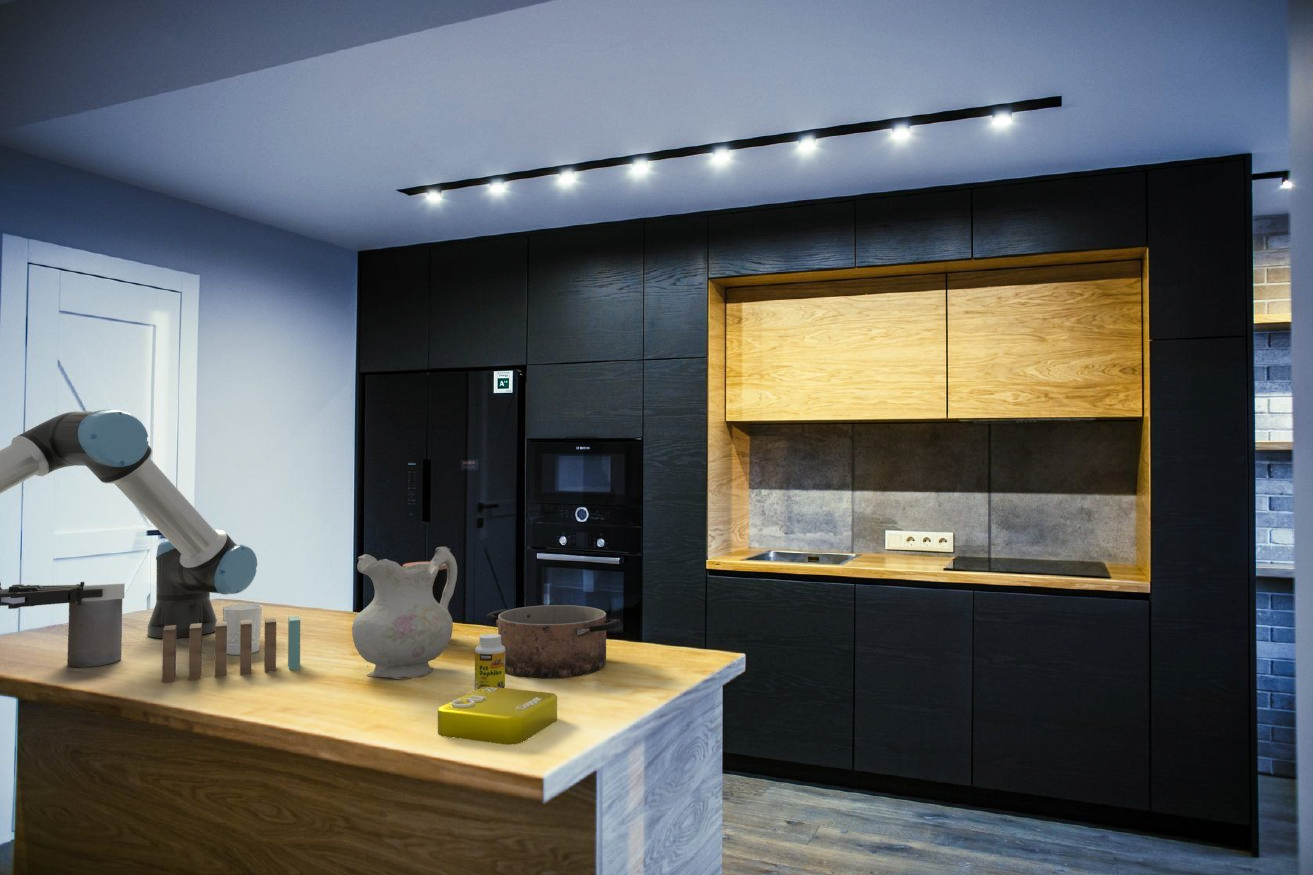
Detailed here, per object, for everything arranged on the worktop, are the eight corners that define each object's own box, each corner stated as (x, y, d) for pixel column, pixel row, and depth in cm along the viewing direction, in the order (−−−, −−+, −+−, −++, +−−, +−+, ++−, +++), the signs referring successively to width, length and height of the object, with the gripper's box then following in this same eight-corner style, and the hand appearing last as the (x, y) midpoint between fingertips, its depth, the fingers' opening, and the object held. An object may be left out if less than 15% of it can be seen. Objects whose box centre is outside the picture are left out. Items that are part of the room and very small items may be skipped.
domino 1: (164, 676, 171) (164, 625, 171) (175, 675, 172) (176, 624, 172) (162, 682, 166) (162, 630, 166) (174, 681, 167) (174, 629, 167)
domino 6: (287, 664, 181) (288, 616, 181) (298, 663, 181) (298, 615, 182) (289, 670, 176) (289, 620, 176) (299, 668, 177) (300, 619, 177)
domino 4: (240, 669, 177) (240, 620, 177) (250, 668, 177) (251, 619, 178) (240, 674, 172) (240, 624, 172) (251, 673, 173) (251, 623, 173)
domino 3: (215, 671, 175) (216, 621, 175) (226, 670, 176) (227, 621, 176) (214, 677, 170) (215, 626, 170) (226, 676, 171) (226, 625, 171)
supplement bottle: (474, 696, 157) (475, 639, 157) (474, 688, 162) (474, 633, 162) (506, 694, 158) (506, 637, 158) (504, 686, 163) (504, 631, 164)
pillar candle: (57, 664, 181) (58, 592, 181) (105, 654, 190) (106, 586, 190) (84, 669, 176) (85, 595, 177) (132, 659, 185) (133, 589, 185)
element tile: (517, 747, 130) (517, 715, 130) (432, 736, 135) (432, 706, 135) (561, 719, 144) (561, 690, 144) (483, 710, 149) (483, 682, 149)
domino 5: (264, 667, 179) (264, 618, 179) (274, 666, 179) (275, 617, 180) (265, 672, 174) (265, 622, 174) (275, 671, 175) (276, 621, 175)
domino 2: (190, 674, 173) (190, 623, 173) (201, 673, 174) (201, 623, 174) (188, 679, 168) (189, 628, 168) (200, 678, 169) (201, 627, 169)
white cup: (268, 648, 196) (269, 603, 196) (248, 656, 188) (249, 610, 188) (235, 647, 197) (236, 603, 197) (214, 655, 189) (215, 609, 189)
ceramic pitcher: (416, 660, 189) (410, 546, 191) (483, 664, 179) (476, 543, 181) (333, 683, 170) (327, 556, 172) (403, 688, 161) (396, 554, 162)
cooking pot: (640, 661, 184) (640, 611, 184) (588, 687, 164) (588, 630, 164) (522, 648, 197) (522, 601, 197) (460, 670, 176) (460, 617, 177)
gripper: (-21, 614, 161) (127, 605, 171) (-41, 625, 149) (119, 616, 160) (-20, 573, 161) (128, 567, 172) (-40, 582, 150) (120, 575, 160)
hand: (123, 591), depth 166 cm, fingers closed
